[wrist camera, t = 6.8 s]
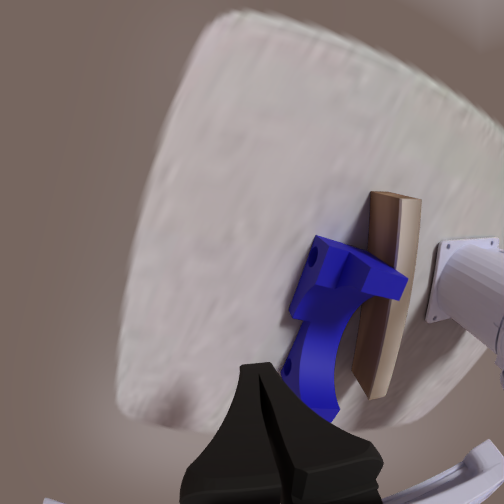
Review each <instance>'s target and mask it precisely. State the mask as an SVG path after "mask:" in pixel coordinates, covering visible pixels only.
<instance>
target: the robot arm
mask: <svg viewBox="0 0 504 504" xmlns="http://www.w3.org/2000/svg"><path fill="white" fill-rule="evenodd" d="M447 245H448V246H447ZM446 247H447V248H446ZM498 247H499V239H498V238H496V237H490V238H474V239H459V240H443V241H441V242H440V243H439V246H438V252H437V260H436V266H435V272H434V278H433V284H432V289H431V294H430V299H429V304H428V309H427V313H426V317H425V321H426V322H427V323H434V322H437V321H441V320H445V319H449V318H452V319H453V320H455V321H456V322H457V323H458V324H460V325H461V326H462V327H463V328H465V329H466V330H467V331H469V332H470V333H471V334H472V335H474V336H475V337H476V338H477V339H478V340H480V341H481V342H482V343H483V344H485V345H486V346H487V347H488V348H489V349H491V350H492V351H493V352H494V353H496V354H497V358H496V361H495V364H496V365H497V366H498V367H499V368H500V369H502V372H501V375H500V381H501V385H502V388H503V390H504V250H502V249H500V248H498ZM433 317H434V318H433ZM383 463H384V462H383V459H382V457H381V455H380V454H379V452H378V451H377V449H376V448H375V447H374V445H373V444H372V443H371V442H370V441H367V440H365V439H362V438H359V437H357V436H354V435H352V434H350V433H348V432H346V431H344V430H342V429H340V428H338V427H336V426H335V425H333V424H331V423H330V422H328V421H326V420H325V419H324V418H322V417H321V416H319V415H318V414H317V413H315V412H314V411H313V410H312V409H310V408H309V407H308V406H307V405H306V404H305V403H304V402H303V401H302V400H301V399H300V398H299V397H297V395H296V394H295V393H294V392H293V391H292V390H291V389H290V388H289V387H288V385H287V384H286V383H285V382H284V381H283V379H282V378H281V377H280V375H279V374H278V373H277V371H276V370H275V368H274V366H273V365H272V363H270V362H265V363H255V364H244V365H241V366H240V375H239V381H238V385H237V389H236V392H235V395H234V398H233V401H232V403H231V406H230V408H229V411H228V413H227V415H226V417H225V419H224V421H223V423H222V425H221V426H220V428H219V430H218V431H217V433H216V435H215V436H214V438H213V439H212V440H211V442H210V443H209V444H208V446H207V447H206V448H205V450H204V451H203V452H202V453H201V454H200V455H199V457H198V458H197V459H196V460H195V461H194V462H193V463H192V464H191V465H190V466H189V467H188V468H187V470H186V472H185V475H184V477H183V480H182V484H181V489H180V500H179V502H180V504H280V503H281V504H480V503H481V502H483V501H484V500H486V499H487V498H488V497H489V496H490V495H491V494H492V493H493V492H494V491H495V490H496V489H497V488H498V487H499V486H500V485H501V484H502V483H503V482H504V457H503V456H502V454H501V453H500V452H499V450H498V449H497V448H496V447H495V445H494V444H493V443H492V442H491V440H490V439H488V440H486V441H484V442H483V443H481V444H480V445H478V446H476V447H475V448H473V449H472V450H471V451H470V452H469V453H468V454H467V455H466V456H465V458H464V460H463V461H462V462H460V463H458V464H457V465H455V466H453V467H451V468H449V469H447V470H446V471H444V472H442V473H440V474H438V475H436V476H434V477H432V478H430V479H428V480H426V481H424V482H422V483H419V484H417V485H415V486H413V487H410V488H408V489H406V490H404V491H401V492H399V493H396V494H393V495H391V496H389V497H386V498H383V499H381V497H380V495H379V493H378V491H377V489H378V487H379V486H378V483H377V481H376V478H377V476H378V475H379V473H380V471H381V469H382V467H383ZM43 504H65V503H62V502H59V501H56V500H53V499H50V498H45V499H44V502H43Z"/></svg>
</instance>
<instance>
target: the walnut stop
mask: <svg viewBox="0 0 504 504" xmlns="http://www.w3.org/2000/svg"><path fill="white" fill-rule="evenodd" d="M421 203H422V200H421V199H416V198H412V197H408V196H404V195H400V194H395V193H391V192H377V191H371V196H370V222H369V238H368V252H369V253H371V254H373V255H374V256H376V257H377V258H379V259H380V260H382V261H383V262H385V263H386V264H388V265H389V266H391V267H392V268H394V269H395V270H397V271H398V272H400V273H401V274H403V275H404V276H406V277H407V278H409V279H408V282H407V284H406V287H405V289H404V291H403V293H402V296H401V298H400V300H399V301H397V300H393V299H389V298H384V297H380V296H374V297H371V298H369V299H368V300H366V301H365V302H364V303H362V309H361V316H360V323H359V330H358V336H357V342H356V348H355V354H354V359H353V365H352V370H351V371H352V372H353V374H354V376H355V377H356V379H357V380H358V382H359V384H360V385H361V387H362V389H363V390H364V392H365V394H366V395H367V397H368V400H373V399H377V398H380V397H384V396H386V393H387V390H388V387H389V383H390V380H391V377H392V373H393V370H394V366H395V363H396V359H397V355H398V351H399V347H400V343H401V339H402V335H403V331H404V326H405V322H406V317H407V312H408V307H409V302H410V296H411V290H412V285H413V278H414V272H415V265H416V257H417V249H418V240H419V230H420V218H421Z"/></svg>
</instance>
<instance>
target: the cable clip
mask: <svg viewBox="0 0 504 504" xmlns="http://www.w3.org/2000/svg"><path fill="white" fill-rule="evenodd" d="M408 279H409V278H407V277H406V276H404V275H403V274H401V273H400V272H398V271H397V270H395V269H394V268H392V267H391V266H389V265H388V264H386V263H385V262H383V261H382V260H380V259H379V258H377V257H376V256H374V255H373V254H371V253H369V252H368V251H365V250H362V249H359V248H356V247H353V246H350V245H346V244H343V243H340V242H337V241H334V240H330V239H327V238H324V237H321V236H317V235H316V236H315V239H314V241H313V244H312V247H311V250H310V253H309V256H308V258H307V261H306V264H305V267H304V270H303V272H302V275H301V278H300V280H299V283H298V286H297V289H296V291H295V294H294V296H293V299H292V302H291V304H290V307H289V312H290V314H291V316H292V318H294V319H299V320H303V322H302V325H301V327H300V330H299V332H298V334H297V337H296V339H295V341H294V344H293V346H292V348H291V350H290V353H289V355H288V357H287V360H286V362H285V364H284V366H283V368H282V371H281V376H282V379H283V381H284V382H285V383H286V384H287V385H288V387H289V388H290V389H291V390H292V391H293V392H294V393H295V394H296V395H297V397H299V398H300V399H301V400H302V401H303V402H304V403H305V404H306V405H307V406H308V407H309V408H310V409H312V410H313V411H314V412H315V413H317V414H318V415H319V416H321V417H322V418H324V419H325V420H326V421H328V422H330V423H331V422H332V421H333V419H334V418H335V416H336V415H337V413H338V412H339V410H340V408H339V405H338V402H337V399H336V394H335V387H334V367H335V359H336V354H337V349H338V346H339V342H340V339H341V336H342V334H343V331H344V329H345V327H346V325H347V323H348V321H349V319H350V318H351V316H352V315H353V313H354V312H355V311H356V310H357V308H358V307H359V306H360V305H361V304H362V303H364V302H365V301H366V300H368V299H369V298H371V297H374V296H380V297H384V298H389V299H393V300H397V301H399V300H400V298H401V296H402V293H403V291H404V289H405V287H406V284H407V282H408Z"/></svg>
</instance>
